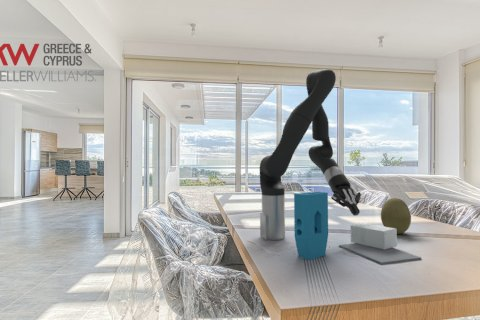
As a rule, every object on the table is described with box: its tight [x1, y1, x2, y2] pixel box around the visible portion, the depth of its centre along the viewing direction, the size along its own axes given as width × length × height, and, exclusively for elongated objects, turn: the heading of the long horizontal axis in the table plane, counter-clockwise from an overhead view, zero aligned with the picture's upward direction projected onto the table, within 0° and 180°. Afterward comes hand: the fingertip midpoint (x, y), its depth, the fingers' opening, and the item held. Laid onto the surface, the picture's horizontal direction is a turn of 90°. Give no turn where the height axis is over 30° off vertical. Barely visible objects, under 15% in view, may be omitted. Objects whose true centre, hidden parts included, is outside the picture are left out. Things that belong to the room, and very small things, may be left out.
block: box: [293, 191, 329, 261], centre depth 94 cm, size 12×5×20 cm, turn 128°
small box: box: [350, 222, 398, 250], centre depth 105 cm, size 8×6×13 cm
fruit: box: [380, 197, 412, 235], centre depth 124 cm, size 11×11×15 cm
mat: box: [338, 243, 422, 265], centre depth 97 cm, size 15×20×1 cm
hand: (357, 214), depth 109 cm, fingers closed
